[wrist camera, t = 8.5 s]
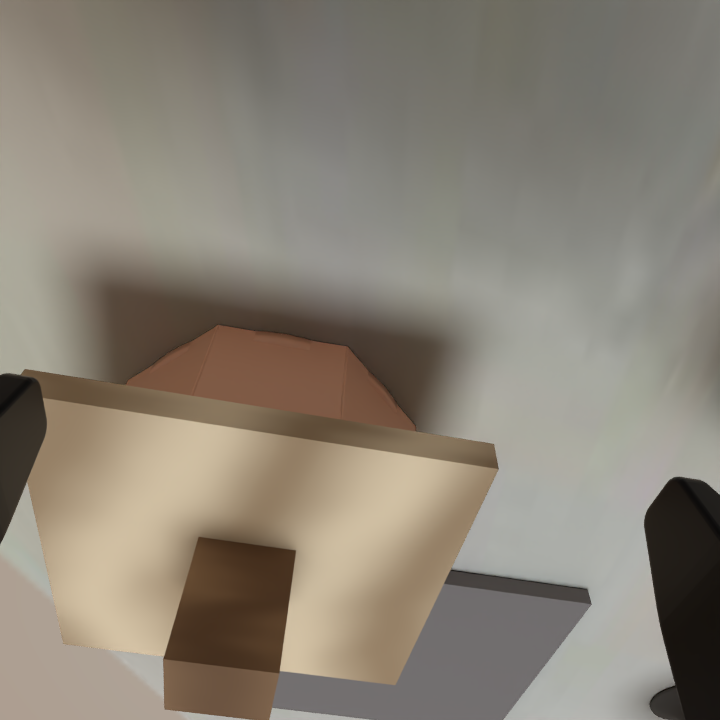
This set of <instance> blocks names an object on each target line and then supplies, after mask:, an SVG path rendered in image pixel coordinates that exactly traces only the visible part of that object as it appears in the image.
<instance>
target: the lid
mask: <svg viewBox="0 0 720 720" xmlns="http://www.w3.org/2000/svg"><path fill="white" fill-rule="evenodd" d="M21 375H24V376H30V377H34V378H36V379H37V380H38V381H39V383H40V386H41V391H42V396H43V401H44V407H45V412H46V417H47V431H46V435H45V438H44V441H43V443H42V446H41V448H40V451H39V453H38V456H37V458H36V461H35V463H34V466H33V468H32V470H31V473H30V475H29V478H28V480H27V482H28V487H29V491H30V496H31V500H32V505H33V509H34V514H35V518H36V523H37V527H38V532H39V536H40V541H41V545H42V550H43V554H44V559H45V563H46V568H47V572H48V577H49V581H50V586H51V590H52V595H53V599H54V604H55V608H56V613H57V617H58V622H59V626H60V631H61V635H62V639H63V644H67V645H77V646H84V647H91V648H100V649H108V650H116V651H124V652H132V653H140V654H148V655H156V656H164V659H163V667H164V708H165V709H166V710H174V711H183V712H191V713H200V714H209V715H217V716H226V717H234V718H243V719H251V720H269V718H270V714H271V709H272V705H273V700H274V696H275V691H276V687H277V682H278V678H279V673H280V671H285V672H293V673H301V674H309V675H317V676H325V677H333V678H341V679H349V680H357V681H365V682H373V683H382V684H390V685H396V683H397V681H398V679H399V677H400V674H401V672H402V670H403V668H404V666H405V664H406V662H407V660H408V658H409V656H410V654H411V651H412V649H413V647H414V645H415V643H416V641H417V639H418V637H419V635H420V633H421V631H422V628H423V626H424V624H425V622H426V620H427V618H428V616H429V614H430V612H431V610H432V608H433V605H434V603H435V601H436V599H437V597H438V595H439V593H440V591H441V589H442V587H443V584H444V582H445V580H446V578H447V576H448V574H449V572H450V570H451V568H452V566H453V564H454V561H455V559H456V557H457V555H458V553H459V551H460V549H461V547H462V545H463V543H464V541H465V538H466V536H467V534H468V532H469V530H470V528H471V526H472V524H473V522H474V520H475V518H476V515H477V513H478V511H479V509H480V507H481V505H482V503H483V501H484V499H485V497H486V495H487V492H488V490H489V488H490V486H491V484H492V482H493V480H494V478H495V476H496V474H497V472H498V463H497V458H496V453H495V447H494V444H491V443H485V442H478V441H472V440H466V439H460V438H453V437H447V436H441V435H435V434H428V433H422V432H416V431H410V430H403V429H397V428H391V427H384V426H378V425H372V424H366V423H359V422H353V421H347V420H341V419H334V418H328V417H322V416H316V415H309V414H303V413H297V412H291V411H284V410H278V409H272V408H266V407H259V406H253V405H247V404H240V403H234V402H228V401H222V400H215V399H209V398H203V397H197V396H190V395H184V394H178V393H172V392H165V391H159V390H153V389H147V388H140V387H134V386H128V385H122V384H115V383H109V382H103V381H96V380H90V379H84V378H78V377H71V376H65V375H59V374H53V373H46V372H40V371H34V370H28V369H25V370H24V371H23V372H22V374H21Z"/></svg>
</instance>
